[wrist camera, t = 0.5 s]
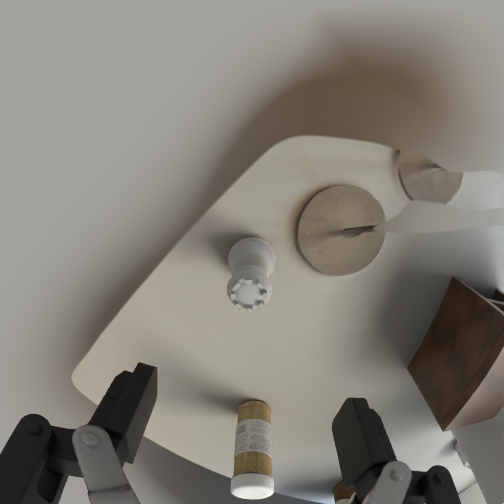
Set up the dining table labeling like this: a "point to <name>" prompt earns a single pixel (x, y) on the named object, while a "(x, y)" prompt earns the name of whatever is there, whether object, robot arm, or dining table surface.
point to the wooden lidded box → (463, 358)
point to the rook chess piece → (250, 273)
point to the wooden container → (342, 494)
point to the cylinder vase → (485, 454)
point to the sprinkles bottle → (253, 452)
